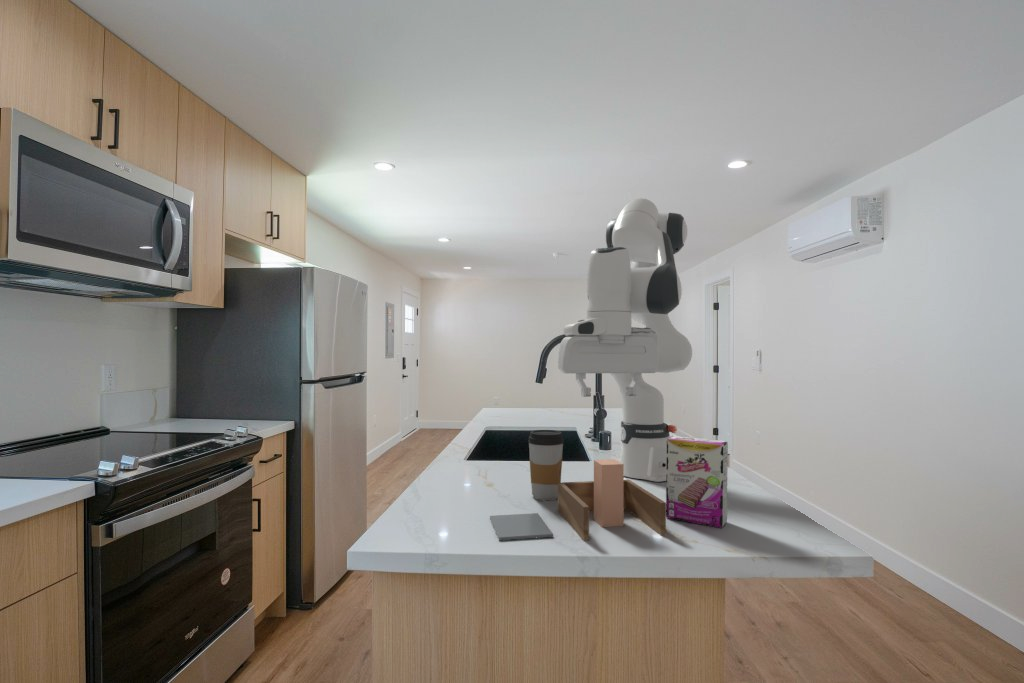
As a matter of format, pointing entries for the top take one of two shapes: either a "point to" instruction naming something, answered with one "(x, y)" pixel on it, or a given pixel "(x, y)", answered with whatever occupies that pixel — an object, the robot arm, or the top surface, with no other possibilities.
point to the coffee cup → (545, 463)
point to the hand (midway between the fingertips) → (608, 396)
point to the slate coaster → (520, 526)
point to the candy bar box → (697, 480)
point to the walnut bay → (641, 503)
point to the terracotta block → (608, 492)
